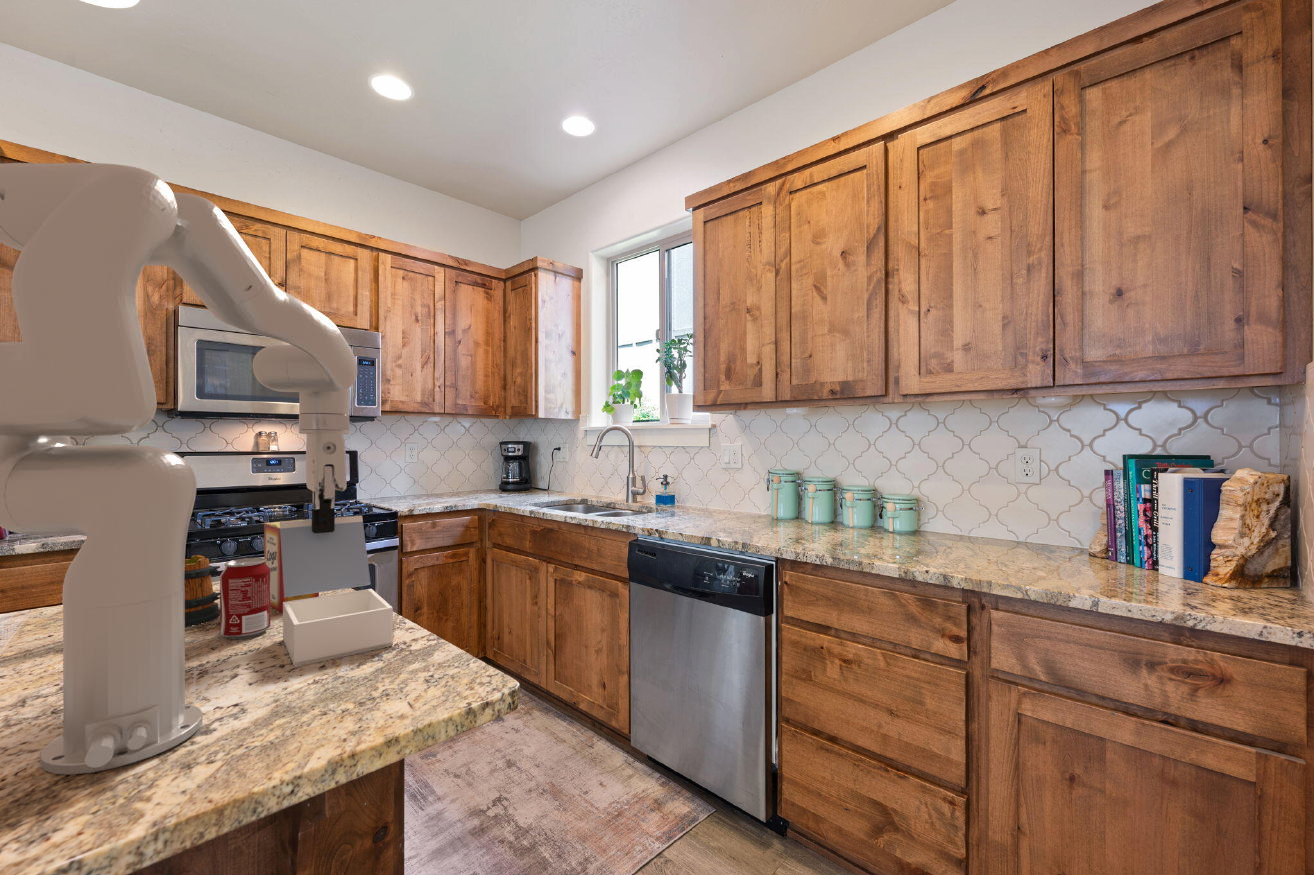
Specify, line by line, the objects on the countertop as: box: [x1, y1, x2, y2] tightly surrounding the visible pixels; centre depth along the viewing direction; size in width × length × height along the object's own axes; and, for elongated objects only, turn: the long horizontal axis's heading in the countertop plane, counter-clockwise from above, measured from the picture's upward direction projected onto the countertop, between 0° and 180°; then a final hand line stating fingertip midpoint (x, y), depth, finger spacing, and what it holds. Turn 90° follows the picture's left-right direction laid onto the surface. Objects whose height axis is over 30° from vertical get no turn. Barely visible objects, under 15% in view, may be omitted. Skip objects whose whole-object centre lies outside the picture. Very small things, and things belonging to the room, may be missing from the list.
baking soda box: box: [263, 519, 320, 614], centre depth 111 cm, size 10×6×16 cm
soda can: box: [219, 557, 271, 640], centre depth 94 cm, size 7×7×12 cm
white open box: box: [282, 588, 394, 668], centre depth 90 cm, size 14×13×6 cm
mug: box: [184, 554, 221, 628], centre depth 100 cm, size 13×10×12 cm
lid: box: [279, 515, 372, 598], centre depth 98 cm, size 13×13×1 cm
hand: (323, 532), depth 98 cm, fingers closed
